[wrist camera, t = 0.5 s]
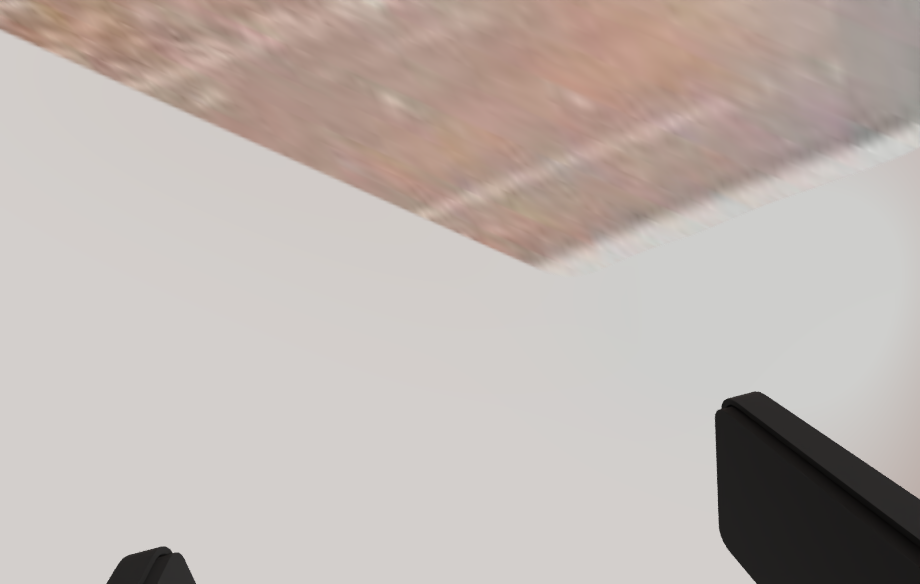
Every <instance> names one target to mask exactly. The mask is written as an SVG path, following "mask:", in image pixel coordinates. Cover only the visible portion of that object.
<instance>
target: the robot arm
mask: <svg viewBox="0 0 920 584" xmlns="http://www.w3.org/2000/svg"><path fill="white" fill-rule="evenodd" d="M715 429H716V458H717V484H718V513H719V530H720V534H721V537H722V539H723V542H724V544H725V545H726V547H727V548H728V550H729V551H730V552H731V554H732V555H733V556H734V557H735V558H736V559H737V561H738V562H739V563H740V564H741V566H742V567H743V568H744V569H745V570H746V571H747V573H748V574H749V575H750V576H751V578H752V579H753V580H754V581H755V582H756V583H757V584H920V499H918V498H917V497H915V496H914V495H912V494H910V493H909V492H908V491H906V490H905V489H904V488H902V487H901V486H899V485H898V484H896V483H895V482H893V481H892V480H890V479H889V478H887V477H886V476H884V475H883V474H881V473H880V472H878V471H877V470H875V469H874V468H873V467H871V466H869V465H868V464H867V463H865V462H864V461H862V460H861V459H859V458H858V457H856V456H855V455H853V454H852V453H850V452H849V451H847V450H846V449H844V448H843V447H841V446H840V445H839V444H837V443H835V442H834V441H832V440H831V439H830V438H828V437H827V436H825V435H824V434H822V433H821V432H819V431H818V430H816V429H815V428H813V427H812V426H810V425H809V424H807V423H806V422H805V421H803V420H802V419H800V418H799V417H797V416H796V415H794V414H793V413H791V412H790V411H788V410H787V409H785V408H784V407H782V406H781V405H779V404H778V403H776V402H775V401H773V400H772V399H771V398H769V397H768V396H766V395H764V394H762V393H761V392H751V393H748V394H744V395H740V396H736V397H733V398H728V399H726V400H724V401H723V404H722V409H720V410H718V411H717V412H716V414H715ZM107 584H196V583H195V581H194V579H193V577H192V574H191V572H190V570H189V568H188V566H187V564H186V562H185V559H184V558H183V556H182V555H181V554H180V553H172V551H171V550H170V549H169V548H167V547H158V548H154V549H151V550H147V551H143V552H139V553H135V554H131V555H128V556H126V557H125V558H123V559H122V560H121V561H120V563H119V564H118V566H117V567H116V569H115V570H114V572H113V574H112V576H111V577H110V579H109V580H108V582H107Z"/></svg>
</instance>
